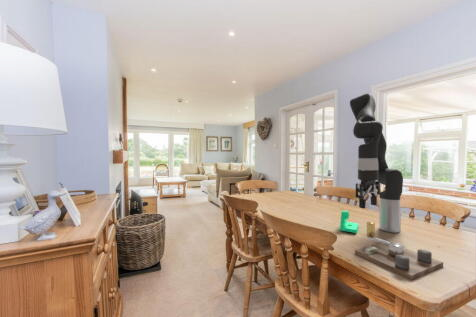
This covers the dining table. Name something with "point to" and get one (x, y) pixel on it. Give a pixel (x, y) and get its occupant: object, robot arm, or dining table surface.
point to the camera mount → (347, 223)
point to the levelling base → (391, 261)
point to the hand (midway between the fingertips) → (368, 206)
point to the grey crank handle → (393, 247)
